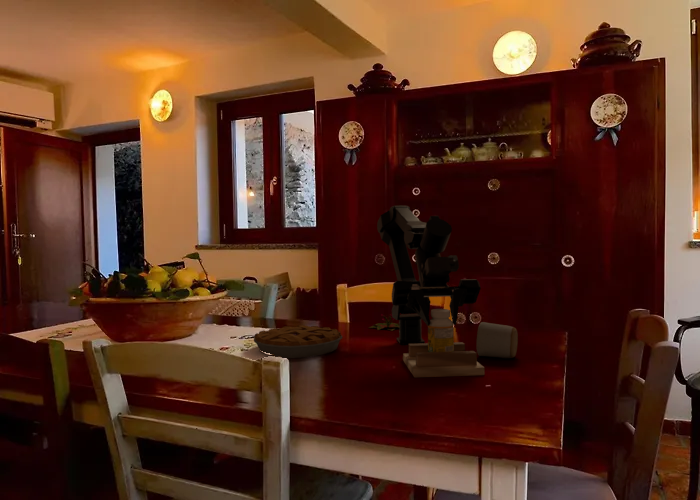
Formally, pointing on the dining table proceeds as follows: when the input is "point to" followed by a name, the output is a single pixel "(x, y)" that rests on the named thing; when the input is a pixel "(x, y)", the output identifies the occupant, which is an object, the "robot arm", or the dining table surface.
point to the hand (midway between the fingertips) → (441, 324)
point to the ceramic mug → (496, 340)
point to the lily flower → (386, 324)
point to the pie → (298, 341)
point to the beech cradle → (442, 361)
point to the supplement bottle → (440, 331)
